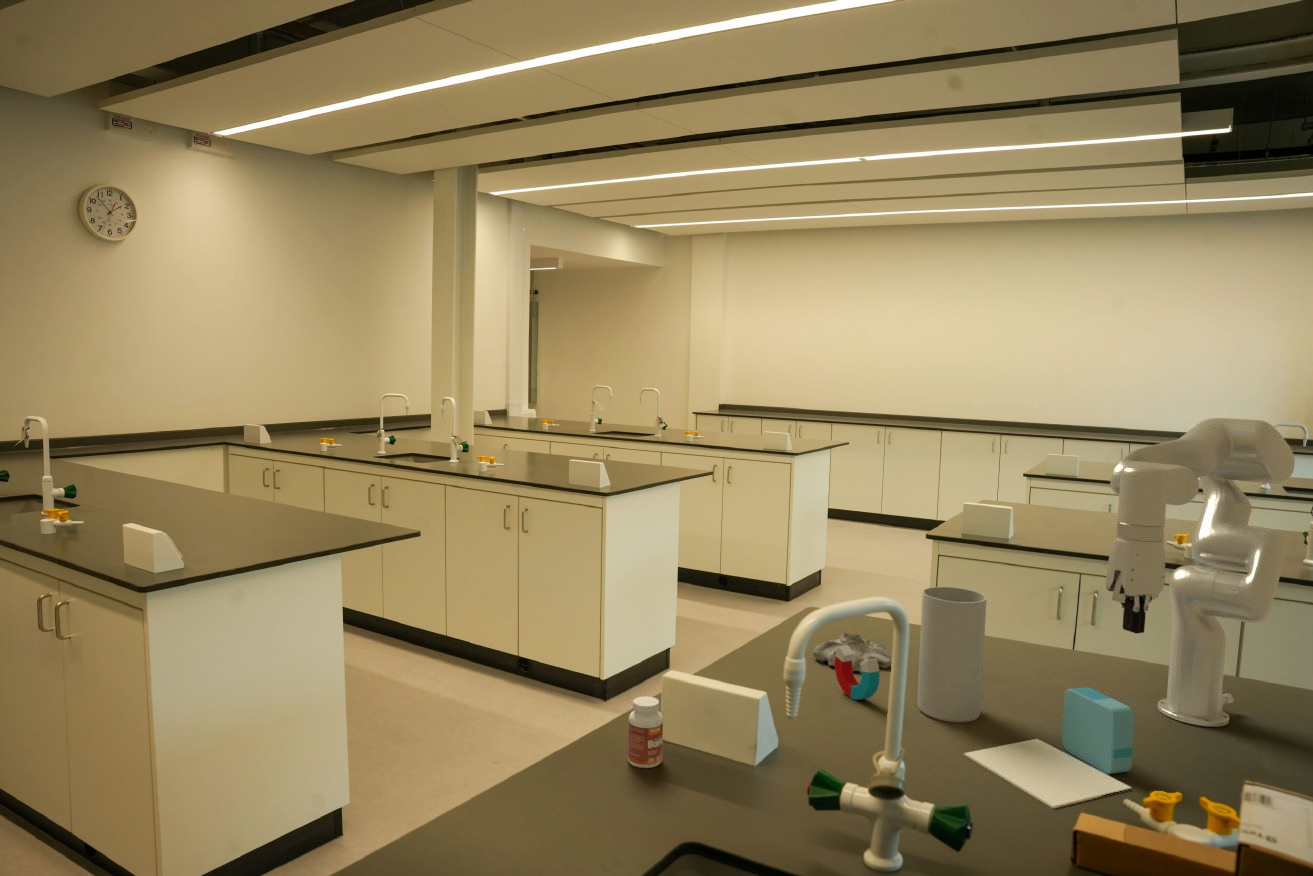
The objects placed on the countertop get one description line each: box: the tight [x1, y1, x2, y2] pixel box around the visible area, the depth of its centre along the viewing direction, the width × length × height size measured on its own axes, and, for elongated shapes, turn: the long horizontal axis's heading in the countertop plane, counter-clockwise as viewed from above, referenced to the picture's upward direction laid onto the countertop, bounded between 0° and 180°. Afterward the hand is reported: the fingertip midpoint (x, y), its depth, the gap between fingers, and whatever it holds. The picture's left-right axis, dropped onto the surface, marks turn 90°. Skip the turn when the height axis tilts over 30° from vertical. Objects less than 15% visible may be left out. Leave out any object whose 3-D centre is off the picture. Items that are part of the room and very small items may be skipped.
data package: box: [1061, 686, 1135, 775], centre depth 150 cm, size 12×4×12 cm, turn 15°
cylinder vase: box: [916, 586, 987, 724], centre depth 171 cm, size 12×12×25 cm
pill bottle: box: [627, 695, 664, 769], centre depth 147 cm, size 6×6×11 cm
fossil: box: [812, 633, 892, 674], centre depth 202 cm, size 18×11×15 cm
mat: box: [963, 738, 1132, 810], centre depth 146 cm, size 18×20×1 cm
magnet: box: [834, 645, 881, 701], centre depth 178 cm, size 12×3×10 cm, turn 26°
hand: (1133, 630), depth 152 cm, fingers closed
